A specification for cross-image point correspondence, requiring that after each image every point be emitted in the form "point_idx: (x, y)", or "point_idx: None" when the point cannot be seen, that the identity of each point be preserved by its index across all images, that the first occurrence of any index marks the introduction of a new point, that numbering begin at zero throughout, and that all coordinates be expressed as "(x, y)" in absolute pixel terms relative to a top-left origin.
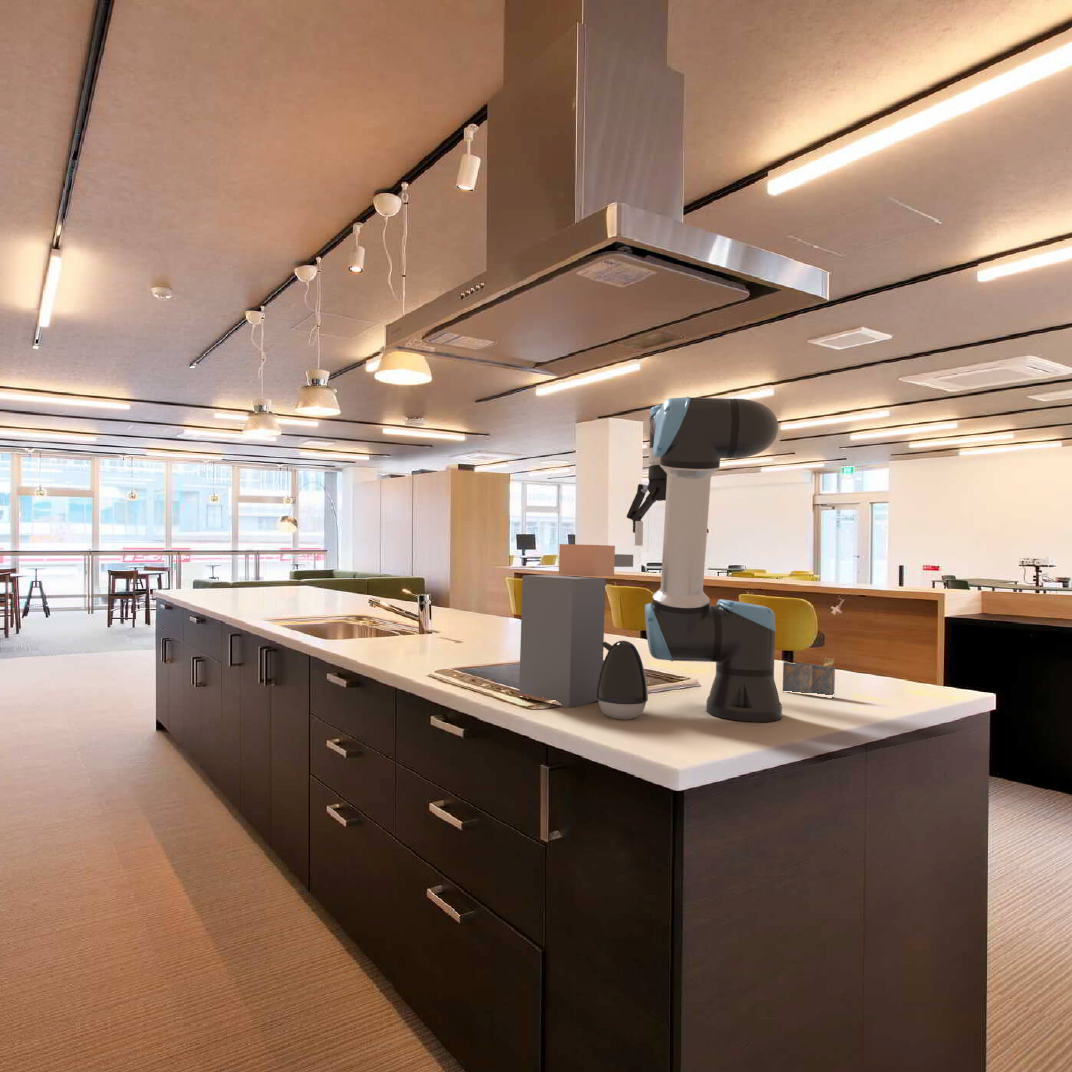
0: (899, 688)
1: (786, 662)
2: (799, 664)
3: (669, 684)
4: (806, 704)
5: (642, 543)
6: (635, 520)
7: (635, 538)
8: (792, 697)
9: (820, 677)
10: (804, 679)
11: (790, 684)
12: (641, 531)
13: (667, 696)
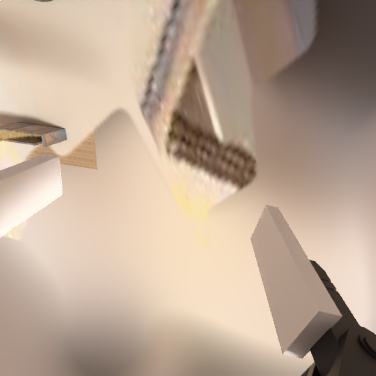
0: None
1: (43, 141)
2: (24, 132)
3: (172, 96)
4: (19, 71)
5: (252, 243)
6: (346, 330)
7: (286, 225)
8: (46, 104)
9: (12, 126)
10: (32, 128)
11: (51, 129)
12: (270, 280)
13: (145, 3)
